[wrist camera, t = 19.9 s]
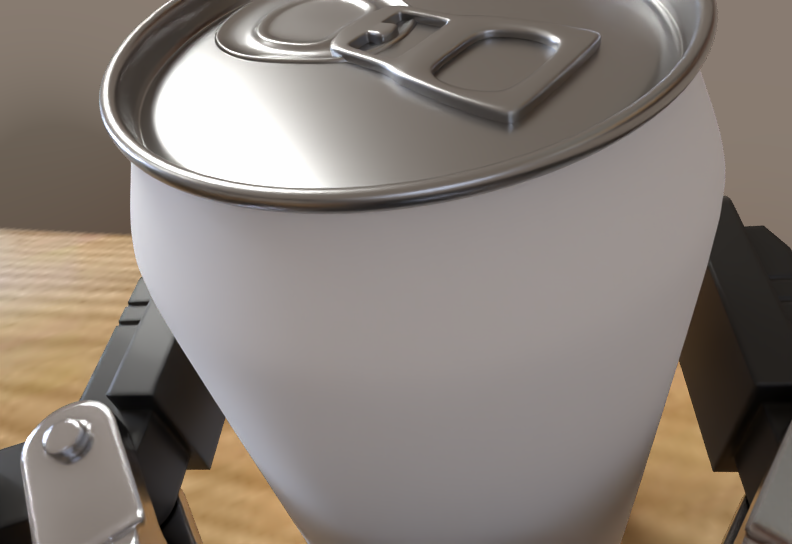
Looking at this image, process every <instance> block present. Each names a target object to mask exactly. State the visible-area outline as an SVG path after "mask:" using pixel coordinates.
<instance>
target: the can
mask: <svg viewBox="0 0 792 544" xmlns="http://www.w3.org/2000/svg"><path fill="white" fill-rule="evenodd" d="M717 22H718V11H717V3H716V0H169V1H168V2H166V3H165V4H163V5H162V6H161V7H159V8H158V9H157V10H155V11H154V12H153V13H152V14H150V15H149V16H148V17H147V18H146V19H145V20H143V21H142V22H141V23H140V24H139V25H138V26H137V27H136V28H135V29H134V30H133V31H132V32H131V33H130V34H129V35H128V36H127V38H126V39H125V40H124V41H123V43H122V44H121V45H120V46H119V48H118V49H117V50H116V52H115V53H114V55H113V56H112V58H111V60H110V62H109V64H108V66H107V68H106V70H105V73H104V75H103V79H102V83H101V87H100V94H99V106H100V113H101V117H102V121H103V123H104V126H105V128H106V130H107V132H108V134H109V136H110V138H111V139H112V141H113V142H114V144H115V145H116V146H117V148H118V149H119V150H120V151H121V152H122V153H123V154H124V156H125V157H126V158H127V159H128V160H130V161H131V192H130V195H131V197H130V213H131V232H132V239H133V246H134V252H135V256H136V261H137V264H138V267H139V270H140V272H141V274H142V277H143V279H144V281H145V283H146V286H147V288H148V290H149V292H150V294H151V297H152V299H153V301H154V302H155V304H156V306H157V308H158V310H159V311H160V313H161V315H162V316H163V318H164V320H165V322H166V323H167V325H168V327H169V328H170V330H171V332H172V333H173V335H174V337H175V338H176V340H177V342H178V343H179V345H180V347H181V348H182V350H183V351H184V353H185V354H186V356H187V358H188V359H189V361H190V362H191V364H192V365H193V367H194V369H195V370H196V372H197V373H198V375H199V377H200V378H201V380H202V381H203V383H204V384H205V386H206V388H207V389H208V391H209V392H210V394H211V395H212V397H213V399H214V400H215V402H216V403H217V405H218V406H219V408H220V409H221V411H222V413H223V414H224V416H225V417H226V419H227V420H228V422H229V423H230V425H231V426H232V428H233V430H234V431H235V433H236V434H237V436H238V437H239V439H240V440H241V442H242V444H243V445H244V447H245V448H246V450H247V451H248V453H249V454H250V456H251V457H252V459H253V461H254V462H255V464H256V465H257V467H258V468H259V470H260V471H261V473H262V474H263V476H264V477H265V479H266V480H267V482H268V484H269V485H270V487H271V488H272V490H273V491H274V493H275V494H276V496H277V497H278V499H279V500H280V502H281V503H282V505H283V506H284V508H285V510H286V511H287V513H288V514H289V516H290V517H291V519H292V520H293V522H294V523H295V525H296V526H297V528H298V529H299V531H300V532H301V534H302V535H303V537H304V538H305V540H306V542H307V543H308V544H621V541H622V538H623V535H624V532H625V529H626V526H627V522H628V519H629V516H630V513H631V510H632V507H633V504H634V501H635V498H636V494H637V491H638V488H639V485H640V482H641V479H642V476H643V472H644V469H645V466H646V463H647V460H648V457H649V453H650V450H651V447H652V444H653V441H654V438H655V434H656V431H657V428H658V425H659V422H660V419H661V415H662V412H663V409H664V406H665V403H666V399H667V396H668V393H669V390H670V386H671V383H672V380H673V377H674V374H675V370H676V367H677V364H678V361H679V357H680V354H681V351H682V348H683V345H684V341H685V338H686V335H687V332H688V328H689V325H690V322H691V318H692V315H693V312H694V308H695V305H696V302H697V298H698V295H699V292H700V288H701V285H702V282H703V278H704V275H705V272H706V268H707V264H708V260H709V257H710V253H711V249H712V245H713V241H714V238H715V234H716V230H717V226H718V222H719V218H720V213H721V206H722V200H723V193H724V186H725V158H724V151H723V144H722V139H721V134H720V130H719V127H718V123H717V119H716V116H715V112H714V109H713V106H712V103H711V100H710V97H709V94H708V91H707V88H706V86H705V82H704V80H703V76H702V74H701V71H700V69H701V67H702V66H703V64H704V62H705V60H706V59H707V56H708V54H709V52H710V50H711V47H712V44H713V41H714V39H715V34H716V30H717Z"/></svg>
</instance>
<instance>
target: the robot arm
mask: <svg viewBox="0 0 792 544" xmlns="http://www.w3.org/2000/svg"><path fill="white" fill-rule="evenodd" d="M128 304H129V306H128V307H125V309H124V311H123V313H122V315H121V318H120V320H119V326H116V328H115V330H114V332H113V334H112V336H111V338H110V340H109V342H108V344H107V346H106V348H105V350H104V352H103V354H102V356H101V358H100V360H99V362H98V364H97V366H96V368H95V370H94V372H93V374H92V376H91V378H90V381H89V383H88V385H87V387H86V389H85V391H84V393H83V395H82V396H81V398H80V400H79V401H78V402H74V403H71V404H68V405H66V406H64V407H61V408H60V409H58V410H56V411H55V412H53V413H52V414H50V415H49V416H47V417H46V418H45V419H44V420H43V421H42V422H41V423H40V424H39V425H38V426H37V427H36V428H35V429H34V430H33V431H32V433H31V434H30V436H29V437H28V439H27V441H26V442H23V443H20V444H17V445H14V446H11V447H8V448H4V449H1V450H0V544H203V542H202V539H201V537H200V534H199V531H198V529H197V526H196V523H195V521H194V518H193V515H192V512H191V510H190V507H189V504H188V502H187V499H186V496H185V494H184V492H183V490H182V489H181V488H180V487H181V484H182V481H183V478H184V475H185V472H186V470H210V468H211V465H212V461H213V458H214V455H215V451H216V448H217V444H218V441H219V438H220V434H221V431H222V427H223V424H224V421H225V416H224V414H223V413H222V411H221V409H220V408H219V406H218V405H217V403H216V402H215V400H214V399H213V397H212V395H211V394H210V392H209V391H208V389H207V388H206V386H205V384H204V383H203V381H202V380H201V378H200V377H199V375H198V373H197V372H196V370H195V369H194V367H193V365H192V364H191V362H190V361H189V359H188V358H187V356H186V354H185V353H184V351H183V350H182V348H181V347H180V345H179V343H178V342H177V340H176V338H175V337H174V335H173V333H172V332H171V330H170V328H169V327H168V325H167V323H166V322H165V320H164V318H163V316H162V315H161V313H160V311H159V310H158V308H157V306H156V304H155V302H154V301H153V299H152V297H151V294H150V292H149V290H148V288H147V286H146V283H145V281H144V279H143V277H141V278H140V279H139V281H138V283H137V285H136V287H135V289H134V291H133V293H132V295H131V297H130V299H129V301H128ZM679 362H680V365H681V368H682V372H683V375H684V378H685V381H686V385H687V388H688V391H689V394H690V398H691V401H692V404H693V408H694V411H695V414H696V417H697V421H698V424H699V427H700V430H701V434H702V437H703V440H704V444H705V447H706V450H707V453H708V457H709V460H710V463H711V466H712V470H713V472H739V475H740V478H741V481H742V484H743V487H744V490H745V494H744V496H743V497H742V499H741V501H740V503H739V505H738V508H737V510H736V512H735V514H734V516H733V519H732V521H731V523H730V525H729V527H728V530H727V532H726V534H725V536H724V538H723V540H722V543H721V544H792V250H791V249H790V247H788V246H787V245H786V244H785V243H784V242H783V241H781V240H780V239H779V238H778V237H777V236H775V235H774V234H773V233H772V232H771V231H769V230H768V229H767V228H766V227H765V226H748V227H744V225H743V223H742V221H741V219H740V217H739V215H738V213H737V211H736V209H735V207H734V205H733V203H732V201H731V200H730V198H728V197H727V196H723V200H722V206H721V213H720V218H719V222H718V226H717V230H716V234H715V238H714V241H713V245H712V249H711V253H710V257H709V260H708V264H707V268H706V272H705V275H704V278H703V282H702V285H701V288H700V292H699V295H698V298H697V302H696V305H695V308H694V312H693V315H692V318H691V322H690V325H689V328H688V332H687V335H686V338H685V341H684V345H683V348H682V351H681V354H680V357H679Z"/></svg>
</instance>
